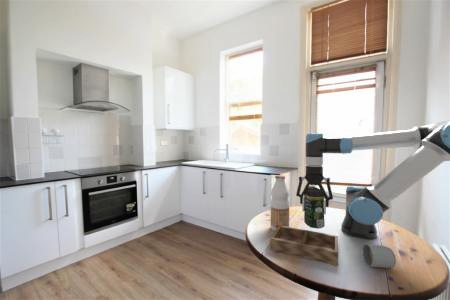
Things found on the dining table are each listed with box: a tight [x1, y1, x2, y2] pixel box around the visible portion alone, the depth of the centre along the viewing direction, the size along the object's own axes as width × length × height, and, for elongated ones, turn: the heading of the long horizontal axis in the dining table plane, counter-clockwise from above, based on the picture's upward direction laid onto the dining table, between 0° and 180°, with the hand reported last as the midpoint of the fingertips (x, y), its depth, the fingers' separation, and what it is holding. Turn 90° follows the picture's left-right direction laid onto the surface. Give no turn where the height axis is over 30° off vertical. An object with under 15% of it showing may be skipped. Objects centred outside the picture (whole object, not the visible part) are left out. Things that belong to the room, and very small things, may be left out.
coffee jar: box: [303, 185, 325, 230], centre depth 104 cm, size 10×8×19 cm
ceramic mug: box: [362, 243, 397, 269], centre depth 81 cm, size 11×8×8 cm
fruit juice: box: [270, 174, 290, 232], centre depth 112 cm, size 9×9×28 cm
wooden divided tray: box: [269, 225, 339, 267], centre depth 92 cm, size 26×15×5 cm, turn 63°
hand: (314, 212), depth 104 cm, fingers closed on coffee jar, 9 cm apart
